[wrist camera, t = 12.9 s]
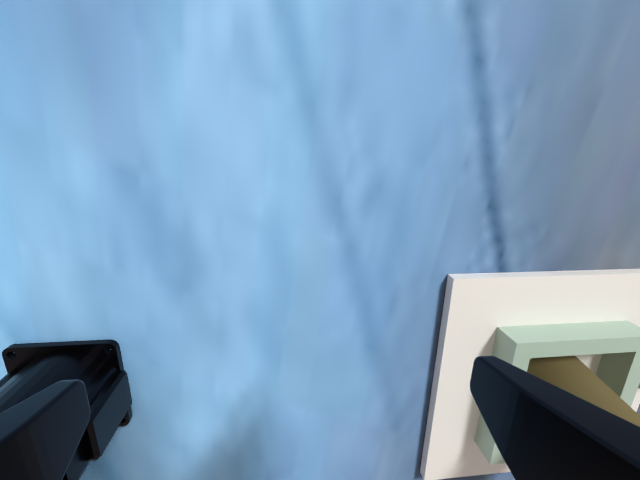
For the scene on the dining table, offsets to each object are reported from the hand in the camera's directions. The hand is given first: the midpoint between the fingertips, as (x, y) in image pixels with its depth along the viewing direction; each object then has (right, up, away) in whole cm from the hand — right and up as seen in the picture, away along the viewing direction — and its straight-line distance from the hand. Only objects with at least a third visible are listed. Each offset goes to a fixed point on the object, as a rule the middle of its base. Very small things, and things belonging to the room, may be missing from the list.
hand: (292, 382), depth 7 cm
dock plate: (+18, -8, +18) cm, 27 cm away
